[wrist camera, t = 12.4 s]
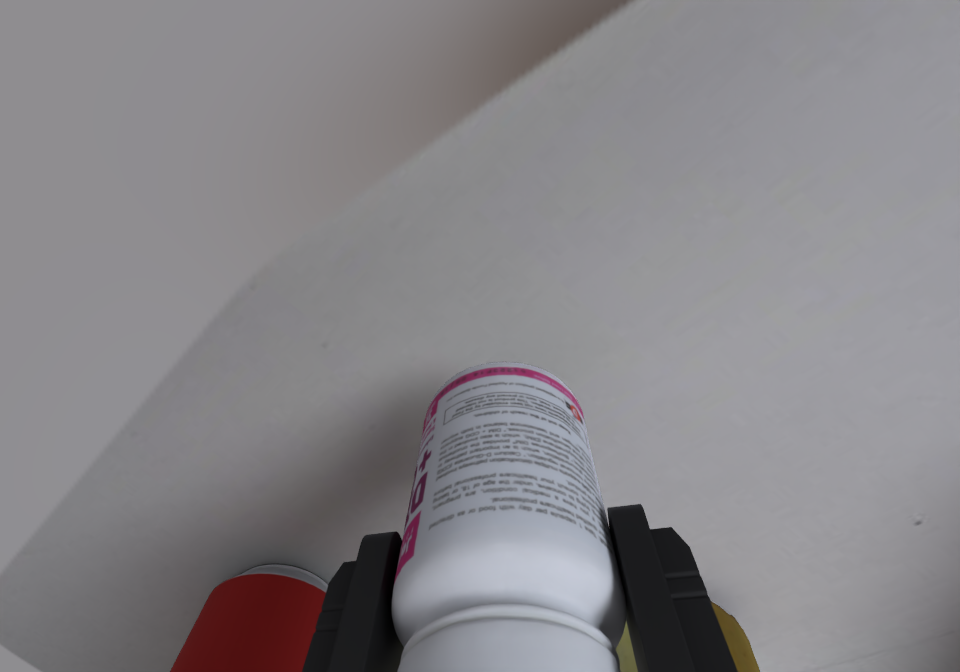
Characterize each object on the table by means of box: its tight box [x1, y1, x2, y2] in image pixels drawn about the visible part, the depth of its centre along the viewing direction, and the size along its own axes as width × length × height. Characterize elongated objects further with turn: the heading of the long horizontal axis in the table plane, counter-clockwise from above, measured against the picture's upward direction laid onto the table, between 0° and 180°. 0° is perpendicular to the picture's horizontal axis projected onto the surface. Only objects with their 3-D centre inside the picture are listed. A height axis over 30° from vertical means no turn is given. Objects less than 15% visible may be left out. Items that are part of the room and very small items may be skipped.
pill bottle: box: [392, 362, 627, 672], centre depth 12 cm, size 5×5×8 cm
